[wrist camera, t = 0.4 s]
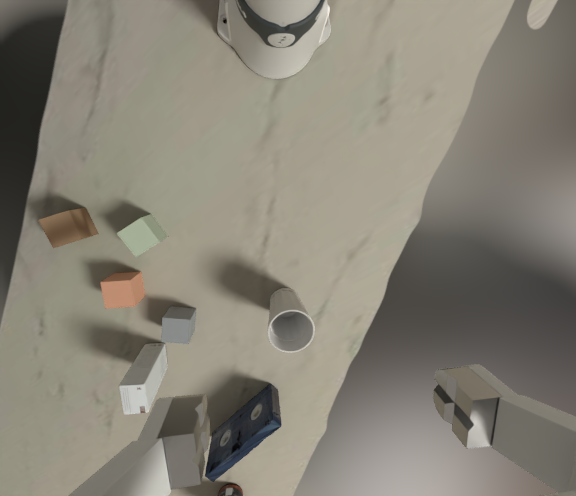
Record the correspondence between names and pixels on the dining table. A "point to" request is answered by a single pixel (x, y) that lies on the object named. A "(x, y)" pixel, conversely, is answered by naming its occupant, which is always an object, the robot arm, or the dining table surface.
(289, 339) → the cup
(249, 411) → the vhs cassette tape
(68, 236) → the walnut cube
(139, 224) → the sage cube
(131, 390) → the skincare box
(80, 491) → the robot arm
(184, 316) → the slate cube
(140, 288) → the terracotta cube
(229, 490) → the supplement bottle
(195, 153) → the dining table surface
